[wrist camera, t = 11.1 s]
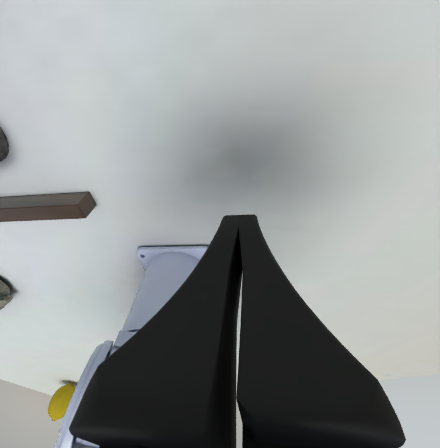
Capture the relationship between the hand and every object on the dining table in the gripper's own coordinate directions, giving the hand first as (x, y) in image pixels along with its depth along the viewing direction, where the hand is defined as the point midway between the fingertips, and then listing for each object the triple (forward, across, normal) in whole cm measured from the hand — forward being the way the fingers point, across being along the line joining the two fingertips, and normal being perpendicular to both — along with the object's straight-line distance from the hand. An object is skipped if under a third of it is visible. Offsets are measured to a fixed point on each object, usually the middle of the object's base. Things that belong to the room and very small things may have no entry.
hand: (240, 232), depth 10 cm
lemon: (+10, +49, +61) cm, 79 cm away
